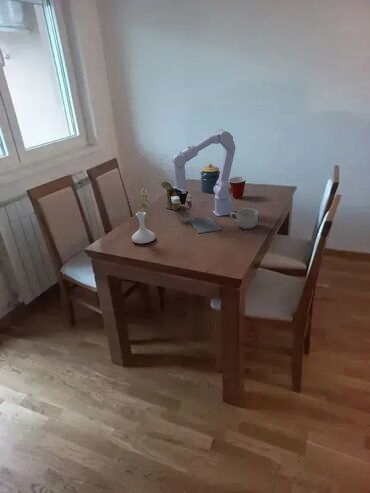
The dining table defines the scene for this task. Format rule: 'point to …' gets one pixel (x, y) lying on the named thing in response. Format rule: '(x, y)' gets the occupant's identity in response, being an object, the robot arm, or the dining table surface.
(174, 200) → the cream block with tabs
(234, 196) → the plastic cup
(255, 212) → the teacup
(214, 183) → the canister
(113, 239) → the dining table surface
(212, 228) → the mat
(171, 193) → the wooden mug
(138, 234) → the flower in vase
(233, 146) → the robot arm
